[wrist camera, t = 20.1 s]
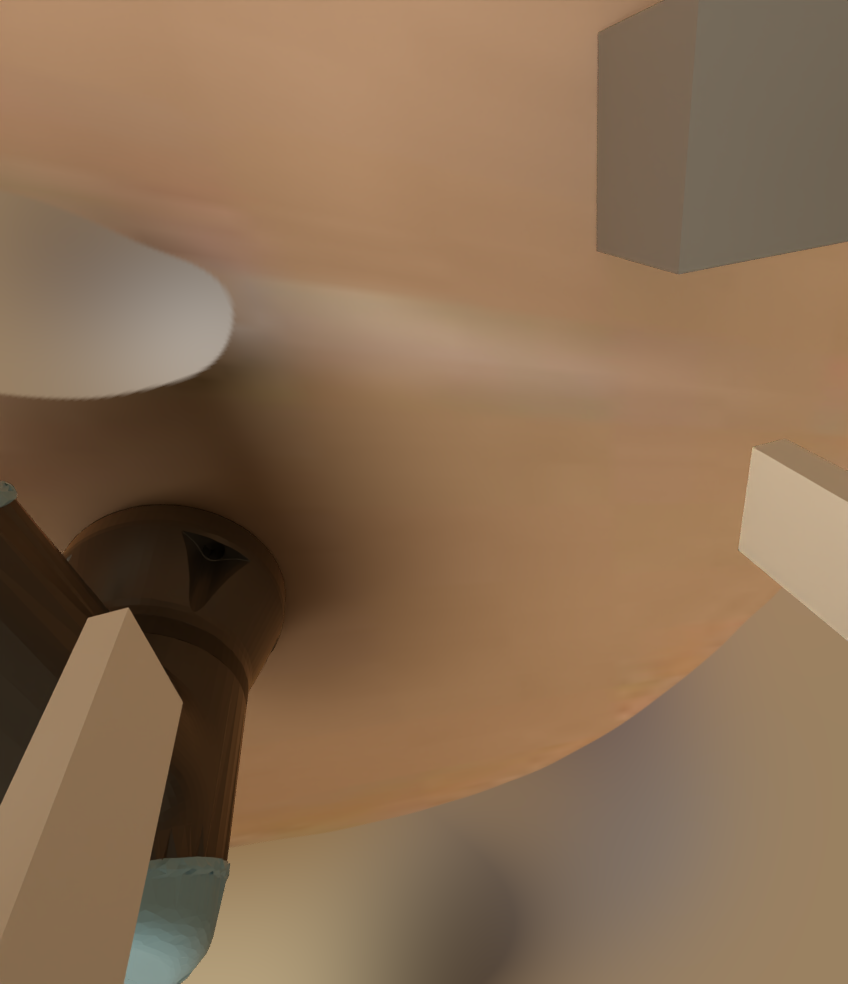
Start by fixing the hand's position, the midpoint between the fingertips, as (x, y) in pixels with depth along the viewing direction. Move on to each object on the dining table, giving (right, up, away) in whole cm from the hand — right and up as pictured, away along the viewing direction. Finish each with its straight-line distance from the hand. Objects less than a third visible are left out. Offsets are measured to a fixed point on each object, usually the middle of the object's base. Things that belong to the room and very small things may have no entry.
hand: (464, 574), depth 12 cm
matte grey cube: (+14, +21, +19) cm, 32 cm away
